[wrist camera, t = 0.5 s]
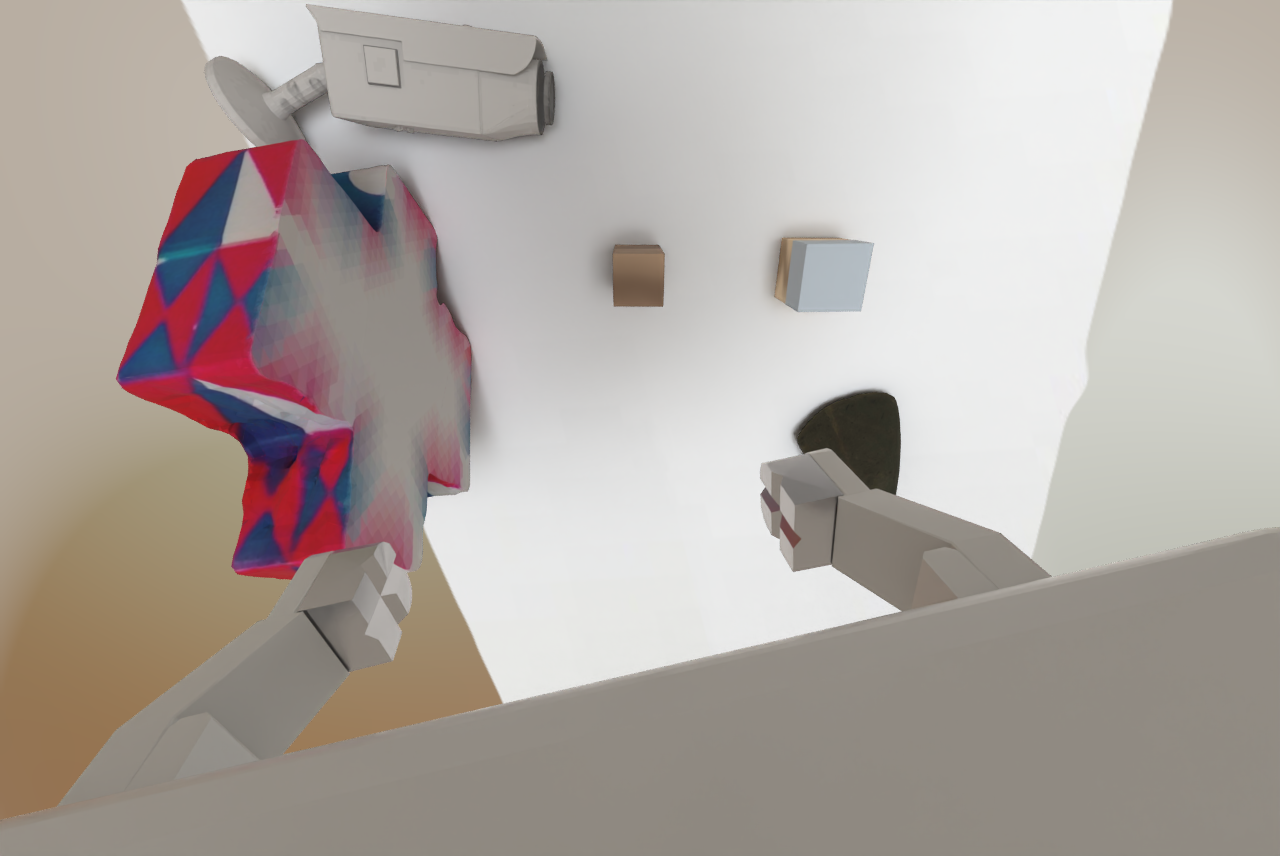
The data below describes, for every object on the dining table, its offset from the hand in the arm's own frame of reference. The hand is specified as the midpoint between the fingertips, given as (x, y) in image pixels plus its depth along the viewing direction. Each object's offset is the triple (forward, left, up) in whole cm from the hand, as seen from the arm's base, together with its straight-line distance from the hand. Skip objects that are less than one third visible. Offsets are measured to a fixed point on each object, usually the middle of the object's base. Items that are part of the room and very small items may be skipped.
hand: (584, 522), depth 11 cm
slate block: (0, +20, -40) cm, 45 cm away
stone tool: (+23, +29, -45) cm, 58 cm away
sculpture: (+6, -21, -44) cm, 50 cm away
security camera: (-15, -18, -45) cm, 50 cm away
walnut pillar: (0, +2, -44) cm, 44 cm away
